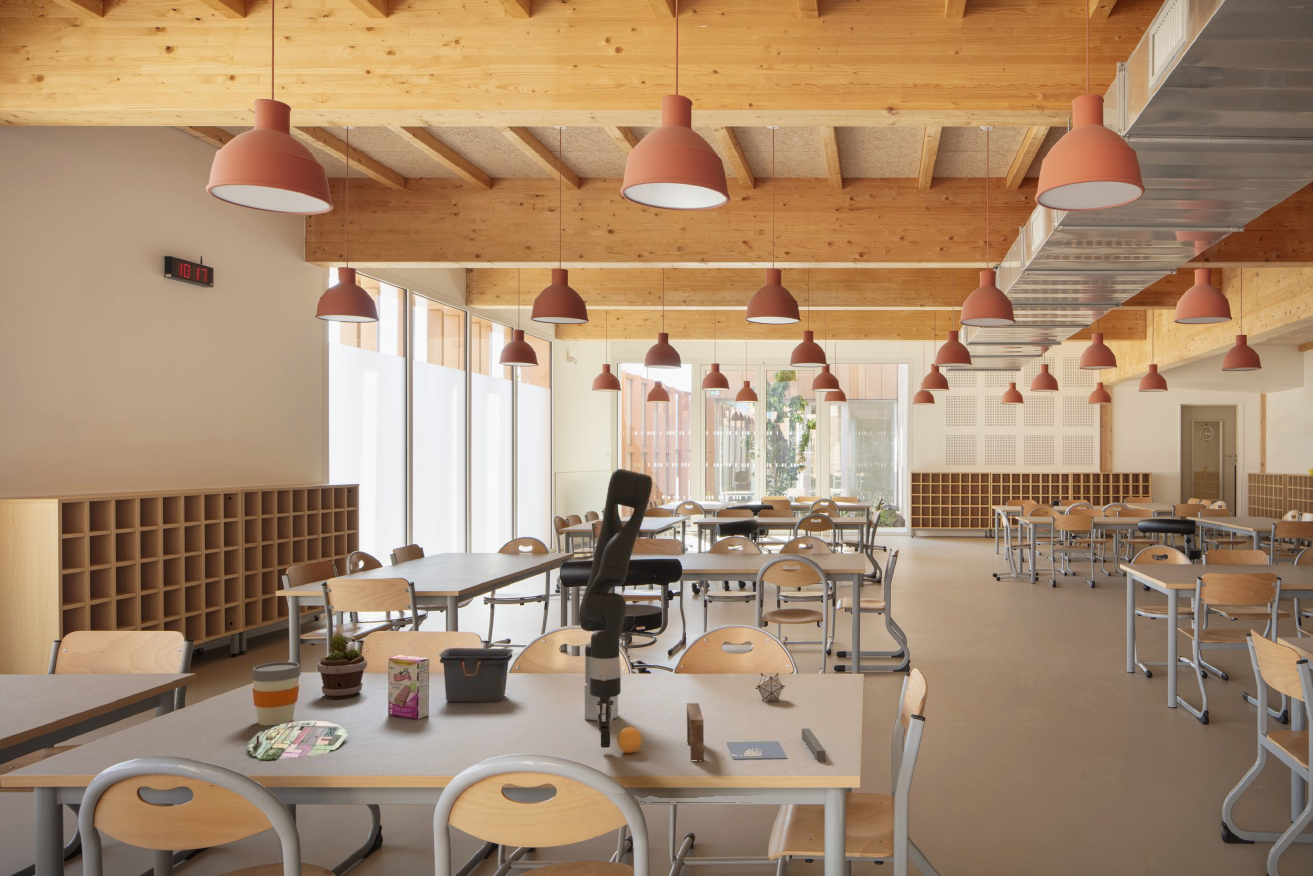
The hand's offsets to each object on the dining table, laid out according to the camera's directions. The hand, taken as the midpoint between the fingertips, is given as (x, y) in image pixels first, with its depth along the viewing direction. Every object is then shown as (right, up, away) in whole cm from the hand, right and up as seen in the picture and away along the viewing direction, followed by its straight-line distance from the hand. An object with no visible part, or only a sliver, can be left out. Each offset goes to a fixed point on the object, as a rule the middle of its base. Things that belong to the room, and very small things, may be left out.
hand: (605, 746), depth 209 cm
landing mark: (+37, -1, +1) cm, 37 cm away
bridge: (+22, -1, +1) cm, 22 cm away
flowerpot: (-86, -5, +59) cm, 104 cm away
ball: (+6, +1, 0) cm, 6 cm away
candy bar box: (-58, -4, +34) cm, 68 cm away
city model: (-78, -3, +7) cm, 79 cm away
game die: (+47, -4, +48) cm, 67 cm away
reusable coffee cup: (-94, -4, +31) cm, 99 cm away
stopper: (+51, -1, +1) cm, 51 cm away
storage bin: (-43, -5, +52) cm, 67 cm away
